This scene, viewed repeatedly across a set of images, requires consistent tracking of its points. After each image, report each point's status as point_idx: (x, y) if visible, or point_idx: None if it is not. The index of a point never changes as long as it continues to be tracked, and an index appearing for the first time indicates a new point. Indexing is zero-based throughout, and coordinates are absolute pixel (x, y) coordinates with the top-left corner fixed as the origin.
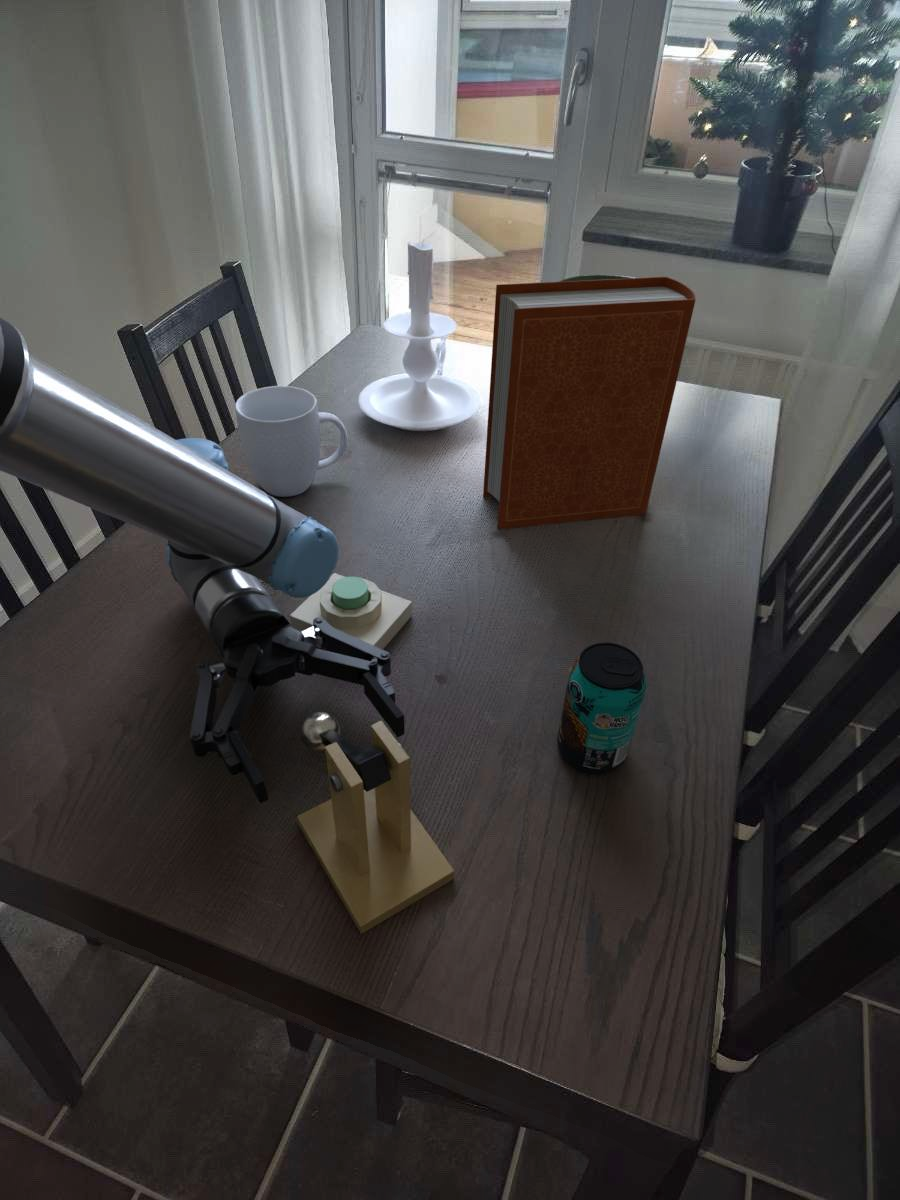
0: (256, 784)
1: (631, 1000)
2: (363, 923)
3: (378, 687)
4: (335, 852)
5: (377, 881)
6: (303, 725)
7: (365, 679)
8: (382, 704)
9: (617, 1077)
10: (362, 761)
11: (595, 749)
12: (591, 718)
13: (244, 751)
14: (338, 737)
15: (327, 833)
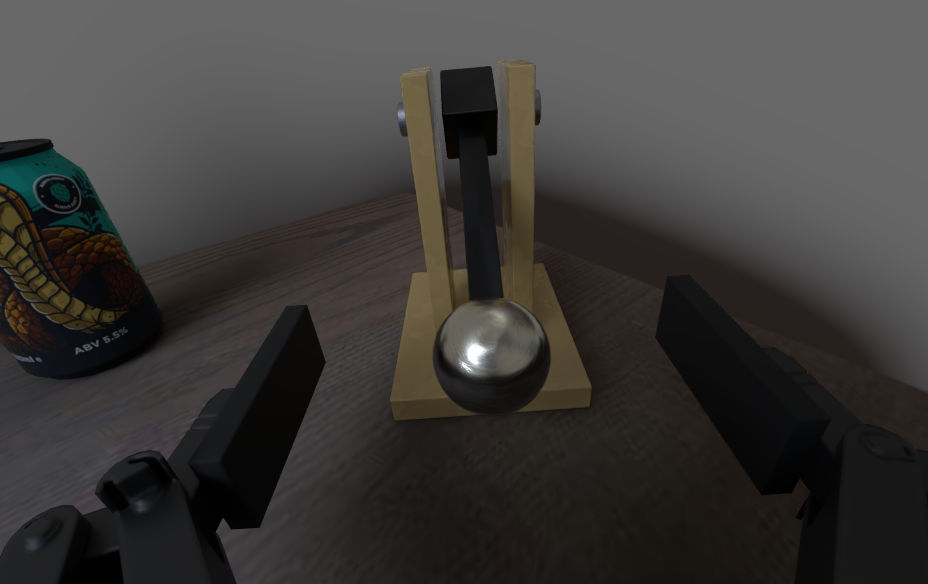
0: (686, 275)
1: (370, 216)
2: (538, 263)
3: (244, 391)
4: (542, 321)
5: (502, 285)
6: (535, 333)
7: (233, 452)
8: (286, 371)
9: (416, 202)
10: (481, 68)
11: (136, 266)
12: (103, 210)
13: (735, 340)
14: (471, 232)
15: None
